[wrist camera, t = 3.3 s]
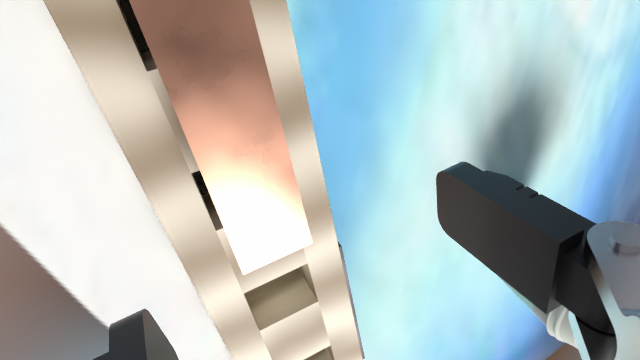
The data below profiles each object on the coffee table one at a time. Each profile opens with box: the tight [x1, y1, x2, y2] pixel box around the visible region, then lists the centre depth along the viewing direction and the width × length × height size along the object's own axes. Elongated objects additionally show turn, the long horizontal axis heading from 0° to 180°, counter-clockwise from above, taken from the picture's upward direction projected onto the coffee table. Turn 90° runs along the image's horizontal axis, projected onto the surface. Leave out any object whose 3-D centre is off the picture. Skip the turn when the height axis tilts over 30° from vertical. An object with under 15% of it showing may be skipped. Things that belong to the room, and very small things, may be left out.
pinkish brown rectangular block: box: [129, 0, 313, 275], centre depth 19 cm, size 12×4×8 cm, turn 11°
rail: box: [43, 0, 365, 360], centre depth 25 cm, size 36×9×4 cm, turn 11°
